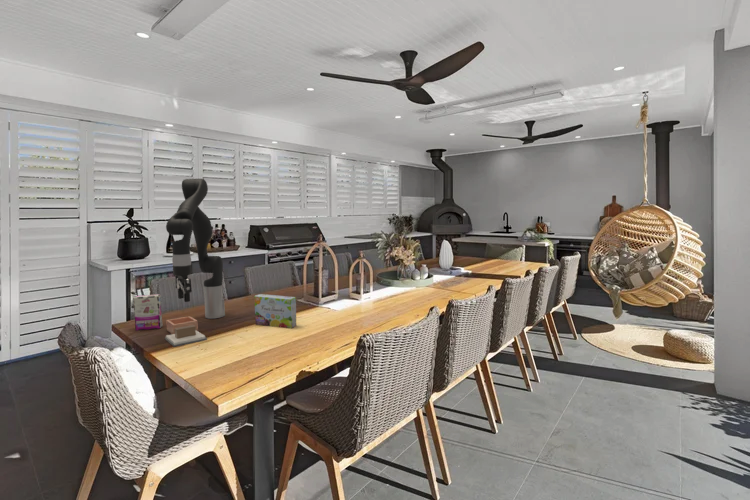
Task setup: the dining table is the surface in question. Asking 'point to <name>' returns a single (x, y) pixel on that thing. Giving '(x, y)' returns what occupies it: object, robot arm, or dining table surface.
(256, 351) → the dining table surface
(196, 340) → the mat
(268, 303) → the snack box
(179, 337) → the lid
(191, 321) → the dish
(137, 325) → the candy bar box
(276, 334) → the dining table surface
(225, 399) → the dining table surface
